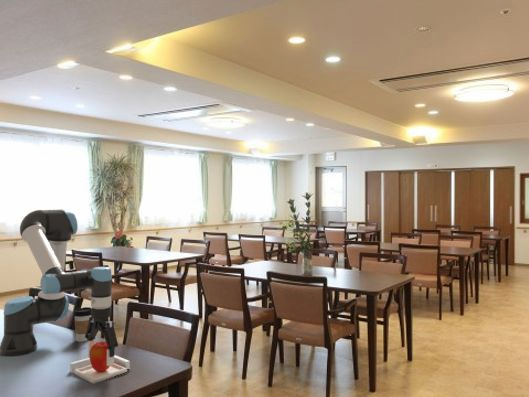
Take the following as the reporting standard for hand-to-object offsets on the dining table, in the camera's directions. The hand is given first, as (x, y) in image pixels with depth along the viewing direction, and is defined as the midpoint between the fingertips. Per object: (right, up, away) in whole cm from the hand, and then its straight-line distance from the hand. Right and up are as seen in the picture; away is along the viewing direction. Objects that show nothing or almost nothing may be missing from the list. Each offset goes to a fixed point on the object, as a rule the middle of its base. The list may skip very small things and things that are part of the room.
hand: (100, 360), depth 180 cm
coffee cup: (-24, -5, +43) cm, 49 cm away
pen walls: (-1, -5, +3) cm, 6 cm away
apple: (0, -4, 0) cm, 4 cm away
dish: (0, -5, 0) cm, 5 cm away
